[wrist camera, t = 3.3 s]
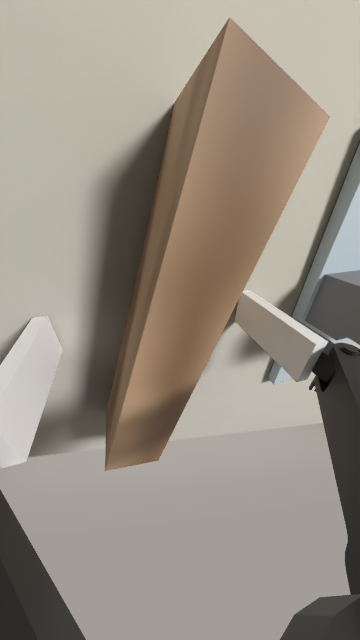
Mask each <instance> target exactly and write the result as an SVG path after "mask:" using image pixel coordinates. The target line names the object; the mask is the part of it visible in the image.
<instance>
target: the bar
mask: <svg viewBox="0 0 360 640" xmlns="http://www.w3.org/2000/svg"><path fill="white" fill-rule="evenodd" d="M329 118H330V116H329V115H328V114H327V113H326V112H325V111H324V110H323V109H322V108H321V107H320V106H319V105H318V104H317V103H316V102H315V101H314V100H313V99H312V98H311V97H310V96H309V95H308V94H307V93H306V92H305V91H304V90H303V89H302V88H301V87H300V86H299V85H298V84H297V83H296V82H295V81H294V80H293V79H292V78H291V77H290V76H288V75H287V74H286V73H285V72H284V71H283V70H282V69H281V68H280V67H279V66H278V65H277V64H276V63H275V62H274V61H273V60H272V59H271V58H270V57H269V56H268V55H267V54H266V53H265V52H264V51H263V50H262V49H261V48H260V47H259V46H258V45H257V44H256V43H255V42H254V41H253V40H252V39H251V38H250V37H249V36H248V35H247V34H246V33H245V32H244V31H243V30H242V29H241V28H240V27H239V26H238V25H237V24H236V23H235V22H234V21H233V20H232V19H231V18H229V19H228V21H227V22H226V24H225V25H224V27H223V28H222V30H221V31H220V33H219V35H218V36H217V38H216V39H215V41H214V42H213V44H212V45H211V47H210V49H209V50H208V52H207V53H206V55H205V56H204V58H203V59H202V61H201V62H200V64H199V66H198V67H197V69H196V70H195V72H194V73H193V75H192V76H191V78H190V80H189V81H188V83H187V84H186V86H185V87H184V89H183V90H182V92H181V93H180V95H179V97H178V98H177V100H176V101H175V103H174V106H173V111H172V115H171V120H170V124H169V129H168V134H167V138H166V143H165V147H164V152H163V156H162V161H161V166H160V170H159V175H158V179H157V184H156V188H155V193H154V197H153V202H152V207H151V211H150V216H149V220H148V225H147V229H146V234H145V238H144V243H143V248H142V252H141V257H140V261H139V266H138V270H137V275H136V279H135V284H134V289H133V293H132V298H131V302H130V307H129V311H128V316H127V321H126V325H125V330H124V334H123V339H122V343H121V348H120V352H119V357H118V362H117V366H116V371H115V375H114V380H113V384H112V389H111V393H110V398H109V403H108V407H107V418H106V459H105V471H107V470H112V469H117V468H122V467H127V466H132V465H137V464H143V463H147V462H153V461H158V460H159V458H160V456H161V454H162V452H163V450H164V448H165V446H166V444H167V442H168V440H169V438H170V436H171V434H172V432H173V430H174V428H175V426H176V424H177V422H178V420H179V418H180V416H181V414H182V412H183V410H184V408H185V406H186V404H187V402H188V400H189V398H190V396H191V394H192V392H193V390H194V388H195V386H196V384H197V382H198V380H199V378H200V376H201V374H202V372H203V370H204V368H205V366H206V364H207V362H208V360H209V358H210V356H211V354H212V352H213V350H214V348H215V346H216V344H217V342H218V340H219V338H220V336H221V334H222V332H223V330H224V328H225V326H226V324H227V322H228V320H229V318H230V316H231V314H232V312H233V310H234V308H235V306H236V304H237V302H238V300H239V298H240V296H241V294H242V292H243V290H244V288H245V286H246V284H247V282H248V280H249V278H250V276H251V274H252V272H253V270H254V268H255V266H256V264H257V262H258V260H259V258H260V256H261V254H262V252H263V250H264V248H265V246H266V244H267V242H268V240H269V238H270V236H271V234H272V232H273V230H274V228H275V226H276V224H277V222H278V220H279V218H280V216H281V214H282V212H283V210H284V208H285V206H286V204H287V202H288V200H289V198H290V196H291V194H292V192H293V190H294V188H295V186H296V184H297V182H298V180H299V178H300V176H301V174H302V172H303V170H304V168H305V166H306V164H307V162H308V160H309V158H310V156H311V154H312V152H313V150H314V148H315V146H316V144H317V142H318V140H319V138H320V136H321V134H322V132H323V130H324V128H325V126H326V124H327V122H328V120H329Z"/></svg>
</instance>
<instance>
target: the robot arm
mask: <svg viewBox="0 0 360 640" xmlns="http://www.w3.org/2000/svg"><path fill="white" fill-rule="evenodd" d="M235 322H236V323H237V324H238V325H239V326H240V327H241V328H242V329H243V330H244V331H245V332H246V333H247V334H248V335H249V336H250V337H251V338H252V339H253V340H254V341H255V342H256V343H257V344H258V345H259V346H260V347H262V348H263V349H264V350H265V351H266V352H267V353H268V354H269V355H270V356H271V357H272V358H273V359H274V360H275V361H276V362H277V363H278V364H279V365H280V366H281V367H282V368H283V369H284V370H285V371H286V372H287V373H288V374H289V375H290V376H291V377H292V378H293V379H294V380H295V381H296V382H299V381H302V380H306V379H308V377H309V375H310V373H311V371H312V372H313V373H314V374H315V375H316V376H315V378H314V379H313V381H312V383H311V385H310V386H309V390H312V388H313V386H315V387H316V389H315V390H314V391H316V392H317V396H318V401H319V405H320V410H321V414H322V419H323V423H324V428H325V433H326V437H327V442H328V446H329V451H330V455H331V460H332V464H333V469H334V474H335V478H336V483H337V487H338V492H339V496H340V501H341V505H342V510H343V515H344V519H345V523H346V528H347V534H348V544H347V547H346V551H345V565H346V572H347V578H348V582H349V588H350V593H351V595H343V596H331V597H320V598H318V599H317V600H315V601H314V602H312V603H311V604H309V605H308V606H306V607H305V608H304V609H302V610H301V611H299V612H298V613H296V614H295V615H294V616H293V618H292V620H291V622H290V623H289V625H288V627H287V629H286V630H285V632H284V634H283V635H282V637H281V639H280V640H360V349H359V348H357V347H355V346H353V345H350V344H347V343H336V344H334V343H333V342H331V341H330V340H328V339H327V338H325V337H323V336H322V335H320V334H319V333H317V332H316V331H314V330H312V329H311V328H310V327H308V326H306V325H305V324H303V323H302V322H300V321H299V320H296V319H294V318H291V317H290V316H288V315H287V314H285V313H284V312H282V311H281V310H279V309H278V308H276V307H275V306H273V305H272V304H270V303H268V302H267V301H265V300H264V299H262V298H261V297H259V296H258V295H256V294H255V293H253V292H252V291H250V290H243V292H242V294H241V296H240V298H239V300H238V306H237V311H236V316H235ZM62 352H63V350H62V348H61V345H60V343H59V341H58V339H57V336H56V334H55V332H54V330H53V327H52V325H51V323H50V321H49V318H48V316H42V317H34V318H32V319H31V321H30V322H29V324H28V325H27V327H26V328H25V330H24V331H23V332H22V334H21V335H20V337H19V338H18V340H17V341H16V343H15V344H14V346H13V347H12V349H11V350H10V352H9V353H8V355H7V356H6V358H5V359H4V360H3V362H2V363H1V365H0V467H1V468H2V469H3V468H7V467H10V466H14V465H17V464H21V463H24V462H26V461H27V458H28V455H29V452H30V449H31V446H32V443H33V440H34V437H35V434H36V431H37V428H38V425H39V422H40V419H41V415H42V412H43V409H44V406H45V403H46V400H47V397H48V394H49V391H50V388H51V385H52V382H53V379H54V376H55V373H56V370H57V367H58V364H59V361H60V358H61V355H62ZM0 640H86V639H85V637H84V636H83V634H82V632H81V630H80V629H79V627H78V625H77V623H76V622H75V620H74V618H73V616H72V615H71V613H70V611H69V609H68V608H67V606H66V604H65V603H64V601H63V599H62V597H61V596H60V594H59V592H58V590H57V588H56V586H55V585H54V583H53V581H52V580H51V578H50V576H49V574H48V573H47V571H46V569H45V567H44V566H43V564H42V562H41V560H40V558H39V557H38V555H37V553H36V551H35V550H34V548H33V546H32V545H31V543H30V541H29V540H28V537H27V536H26V534H25V532H24V530H23V529H22V527H21V525H20V523H19V522H18V520H17V518H16V517H15V515H14V513H13V511H12V509H11V508H10V506H9V504H8V502H7V501H6V499H5V497H4V495H3V494H2V492H1V490H0Z"/></svg>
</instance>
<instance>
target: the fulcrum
mask: <svg viewBox="0 0 360 640" xmlns="http://www.w3.org/2000/svg"><path fill="white" fill-rule="evenodd" d="M291 318H294V319H296V320H299V321H300V322H302V323H303V324H305V325H306V326H308V327H310V328H311V329H312V330H314V331H316V332H317V333H319V334H320V335H322V336H323V337H325V338H327V339H328V340H330V341H331V342H333V343H334V344H336V343H347V344H350V345H351V344H352V343H353V341H354V342H356V343H358V344H359V345H360V143H359V146H358V148H357V151H356V153H355V156H354V158H353V161H352V163H351V166H350V169H349V171H348V174H347V176H346V179H345V181H344V184H343V187H342V189H341V192H340V194H339V197H338V199H337V202H336V205H335V207H334V210H333V212H332V215H331V217H330V220H329V222H328V225H327V228H326V230H325V233H324V235H323V238H322V240H321V243H320V246H319V248H318V251H317V253H316V256H315V258H314V261H313V264H312V266H311V269H310V271H309V274H308V276H307V279H306V281H305V284H304V287H303V289H302V292H301V294H300V297H299V299H298V302H297V305H296V307H295V310H294V312H293V315H292V317H291ZM312 373H313V372H312V371H311V373H310V374H312ZM268 379H269V380H270V381H271V382H272V383H273V384H277V383H281V382H284V381H288V380H291V379H293V378H292V377H291V376H290V375H289V374H288V373H287V372H286V371H285V370H284V369H283V368H282V367H281V366H280V365H279V364H278V363H277V362H276V361H274V364H273V366H272V369H271V371H270V374H269V376H268Z"/></svg>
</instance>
